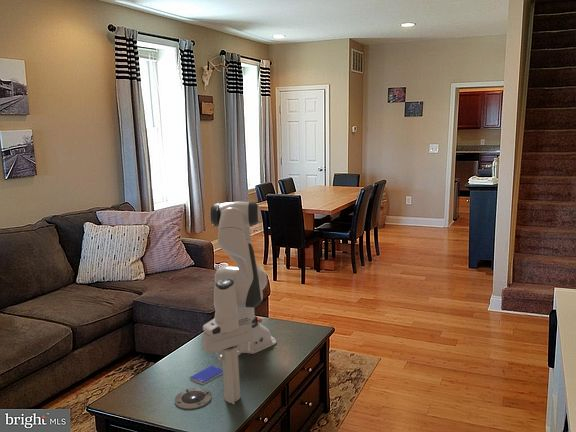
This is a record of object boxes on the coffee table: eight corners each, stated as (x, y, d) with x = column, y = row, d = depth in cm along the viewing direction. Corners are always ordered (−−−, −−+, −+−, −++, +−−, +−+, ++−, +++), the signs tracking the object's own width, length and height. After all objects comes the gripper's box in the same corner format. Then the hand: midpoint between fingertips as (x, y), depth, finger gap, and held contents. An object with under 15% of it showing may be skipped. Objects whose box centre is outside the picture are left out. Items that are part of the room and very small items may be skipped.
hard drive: (202, 382, 205) (224, 370, 214) (189, 376, 210) (210, 365, 219) (202, 386, 205) (224, 373, 215) (189, 380, 210) (210, 368, 220)
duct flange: (202, 386, 204) (202, 383, 204) (217, 401, 192) (217, 398, 192) (169, 397, 197) (169, 394, 196) (183, 413, 185) (182, 410, 185)
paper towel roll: (229, 393, 198) (225, 342, 194) (243, 395, 196) (240, 344, 192) (220, 402, 191) (216, 350, 187) (234, 405, 189) (231, 352, 185)
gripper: (247, 314, 196) (249, 347, 198) (198, 327, 185) (201, 362, 188) (255, 318, 191) (257, 353, 193) (205, 332, 180) (208, 368, 182)
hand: (229, 357), depth 190 cm, fingers open, 6 cm apart
